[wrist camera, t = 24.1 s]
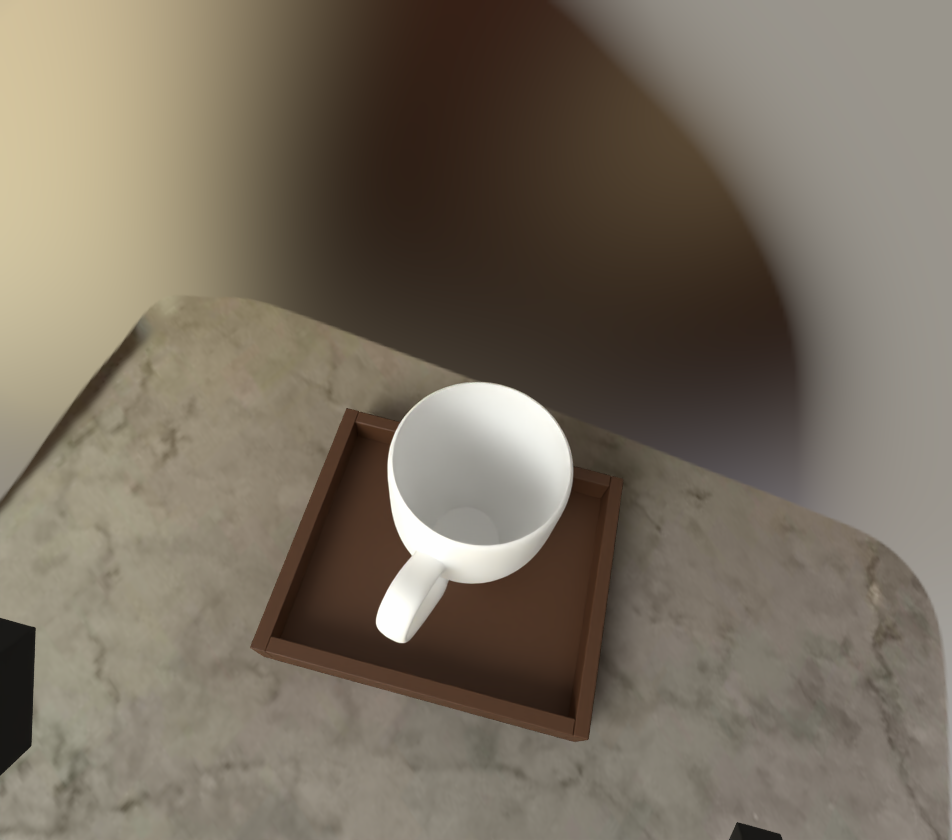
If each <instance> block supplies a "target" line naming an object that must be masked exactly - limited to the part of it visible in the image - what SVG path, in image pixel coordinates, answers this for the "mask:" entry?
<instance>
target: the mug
mask: <svg viewBox="0 0 952 840" xmlns="http://www.w3.org/2000/svg"><path fill="white" fill-rule="evenodd" d="M572 483H573V460H572V454H571V450H570V447H569V444H568V441H567V439H566V436H565V434H564V432H563V430H562V429H561V427H560V425H559V424H558V422H557V421H556V420H555V418H554V417H553V416H552V415H551V414H550V413H549V412H548V411H547V410H546V409H545V408H544V407H543V406H542V405H541V404H539V403H538V402H537V401H535V400H534V399H532V398H531V397H529V396H528V395H526V394H524V393H522V392H520V391H518V390H515V389H513V388H510V387H507V386H503V385H499V384H494V383H487V382H468V383H461V384H456V385H452V386H448V387H445V388H442V389H440V390H438V391H436V392H434V393H432V394H430V395H428V396H427V397H425V398H424V399H422V400H421V401H420V402H418V403H417V404H416V405H415V406H414V407H413V408H412V409H411V410H410V411H409V412H408V413H407V414H406V415H405V417H404V418H403V419H402V421H401V422H400V424H399V426H398V428H397V429H396V432H395V434H394V436H393V439H392V442H391V445H390V450H389V455H388V484H389V493H390V502H391V509H392V514H393V519H394V522H395V526H396V528H397V531H398V533H399V536H400V538H401V540H402V542H403V543H404V545H405V547H406V548H407V550H408V551H409V552H410V554H411V555H412V557H411V558H410V559H409V560H408V561H407V562H406V564H405V565H404V566H403V567H402V569H401V570H400V571H399V573H398V574H397V575H396V577H395V578H394V580H393V581H392V583H391V585H390V586H389V588H388V590H387V592H386V594H385V596H384V598H383V600H382V602H381V605H380V607H379V610H378V613H377V617H376V625H377V628H378V629H379V631H380V632H381V633H382V634H384V635H385V636H386V637H388V638H389V639H391V640H393V641H395V642H398V643H406V642H408V641H409V640H410V639H411V638H412V637H413V636H414V635H415V633H416V632H417V631H418V629H419V628H420V627H421V625H422V624H423V623H424V621H425V620H426V619H427V617H428V616H429V614H430V613H431V612H432V610H433V609H434V607H435V606H436V604H437V603H438V602H439V600H440V599H441V597H442V596H443V594H444V592H445V590H446V587H447V584H448V581H449V580H451V581H454V582H460V583H470V584H475V583H486V582H491V581H495V580H498V579H501V578H503V577H506V576H508V575H510V574H512V573H514V572H515V571H517V570H519V569H520V568H521V567H523V566H524V565H525V564H526V563H528V562H529V561H530V560H531V559H532V558H533V557H534V556H535V555H536V554H537V553H538V551H539V550H540V549H541V548H542V546H543V545H544V543H545V542H546V540H547V539H548V537H549V535H550V534H551V532H552V530H553V529H554V527H555V525H556V524H557V522H558V520H559V518H560V517H561V515H562V513H563V511H564V509H565V507H566V504H567V502H568V499H569V496H570V493H571V488H572Z"/></svg>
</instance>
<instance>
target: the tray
mask: <svg viewBox="0 0 952 840" xmlns="http://www.w3.org/2000/svg"><path fill="white" fill-rule="evenodd" d="M399 424H400V422H398V421H394V420H390V419H386V418H382V417H379V416H375V415H371V414H367V413H363V412H359V411H356V410H352V409H348V408H347V409H346V411H345V414H344V416H343V418H342V421H341V423H340V426H339V428H338V431H337V433H336V436H335V438H334V441H333V443H332V446H331V448H330V451H329V453H328V456H327V458H326V461H325V463H324V466H323V468H322V470H321V473H320V475H319V478H318V480H317V483H316V485H315V488H314V490H313V493H312V495H311V498H310V500H309V503H308V505H307V508H306V510H305V513H304V515H303V518H302V520H301V522H300V525H299V527H298V530H297V532H296V535H295V537H294V540H293V542H292V545H291V547H290V550H289V552H288V555H287V557H286V560H285V562H284V565H283V567H282V569H281V572H280V574H279V577H278V579H277V582H276V584H275V587H274V589H273V592H272V594H271V597H270V599H269V602H268V604H267V607H266V609H265V612H264V614H263V617H262V619H261V621H260V624H259V626H258V629H257V631H256V634H255V636H254V639H253V641H252V644H251V646H250V648H252V649H253V650H254V651H256V652H257V653H259V654H261V655H262V656H264V657H267V658H271V659H275V660H278V661H282V662H285V663H289V664H293V665H296V666H300V667H304V668H307V669H311V670H315V671H318V672H322V673H326V674H329V675H333V676H336V677H340V678H344V679H347V680H351V681H355V682H358V683H362V684H366V685H369V686H373V687H376V688H380V689H384V690H387V691H391V692H395V693H398V694H402V695H406V696H409V697H413V698H417V699H420V700H424V701H427V702H431V703H435V704H438V705H442V706H446V707H449V708H453V709H457V710H460V711H464V712H468V713H471V714H475V715H478V716H482V717H486V718H489V719H493V720H497V721H500V722H504V723H508V724H511V725H515V726H519V727H522V728H526V729H529V730H533V731H537V732H540V733H544V734H548V735H551V736H555V737H559V738H562V739H566V740H570V741H573V742H577V741H584V740H588V739H589V733H590V725H591V718H592V711H593V703H594V696H595V688H596V681H597V673H598V666H599V659H600V651H601V644H602V636H603V629H604V621H605V614H606V606H607V599H608V592H609V584H610V577H611V569H612V562H613V554H614V547H615V539H616V532H617V525H618V517H619V510H620V502H621V495H622V487H623V479H622V478H618V477H614V476H611V477H610V475H606V474H602V473H599V472H595V471H591V470H587V469H583V468H579V467H575V466H573V483H572V488H571V493H570V496H569V499H568V502H567V504H566V507H565V509H564V511H563V513H562V515H561V517H560V518H559V520H558V522H557V524H556V525H555V527H554V529H553V530H552V532H551V534H550V535H549V537H548V539H547V540H546V542H545V543H544V545H543V546H542V548H541V549H540V550H539V551H538V553H537V554H536V555H535V556H534V557H533V558H532V559H531V560H530V561H529V562H528V563H526V564H525V565H524V566H523V567H521V568H520V569H519V570H517V571H515V572H514V573H512V574H510V575H508V576H506V577H503V578H501V579H498V580H495V581H491V582H486V583H475V584H470V583H460V582H454V581H451V580H449V581H448V584H447V587H446V590H445V592H444V594H443V596H442V597H441V599H440V600H439V602H438V603H437V604H436V606H435V607H434V609H433V610H432V612H431V613H430V614H429V616H428V617H427V619H426V620H425V621H424V623H423V624H422V625H421V627H420V628H419V629H418V631H417V632H416V633H415V635H414V636H413V637H412V638H411V639H410V640H409V641H408V642H406V643H398V642H395V641H393V640H391V639H389V638H388V637H386V636H385V635H384V634H382V633H381V632H380V631H379V629H378V628H377V625H376V617H377V613H378V610H379V607H380V605H381V602H382V600H383V598H384V596H385V594H386V592H387V590H388V588H389V586H390V585H391V583H392V581H393V580H394V578H395V577H396V575H397V574H398V573H399V571H400V570H401V569H402V567H403V566H404V565H405V564H406V562H407V561H408V560H409V559H410V558H411V557H412V555H411V554H410V552H409V551H408V550H407V548H406V547H405V545H404V543H403V542H402V540H401V538H400V536H399V533H398V531H397V528H396V526H395V522H394V519H393V514H392V509H391V502H390V493H389V484H388V455H389V450H390V445H391V442H392V439H393V436H394V434H395V432H396V429H397V428H398V426H399Z"/></svg>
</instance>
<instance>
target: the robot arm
mask: <svg viewBox="0 0 952 840" xmlns="http://www.w3.org/2000/svg"><path fill="white" fill-rule="evenodd" d="M35 630H36V628H35V627H31V626H27V625H24V624H20V623H17V622H13V621H9V620H6V619H2V618H0V775H1V774H3V773H4V772H5V771H6V770H7V769H8V768H9V767H10V766H11V765H12V764H13V763H14V762H15V761H16V760H17V759H18V758H19V757H20V756H21V755H22V754H23V753H25V752H26V751H27V750H28V749H29V748H30V747H31V743H32V715H33V687H34V659H35ZM729 840H782V837H781V835H780V834H778V833H774V832H771V831H767V830H764V829H760V828H756V827H753V826H749V825H746V824H742V823H738V822H737V823H736V826H735V828H734V830H733V832H732V834H731V837H730V839H729Z"/></svg>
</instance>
